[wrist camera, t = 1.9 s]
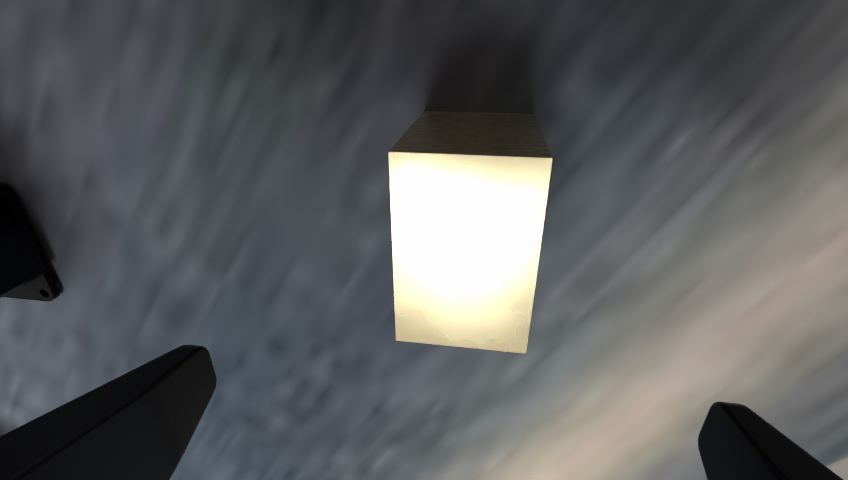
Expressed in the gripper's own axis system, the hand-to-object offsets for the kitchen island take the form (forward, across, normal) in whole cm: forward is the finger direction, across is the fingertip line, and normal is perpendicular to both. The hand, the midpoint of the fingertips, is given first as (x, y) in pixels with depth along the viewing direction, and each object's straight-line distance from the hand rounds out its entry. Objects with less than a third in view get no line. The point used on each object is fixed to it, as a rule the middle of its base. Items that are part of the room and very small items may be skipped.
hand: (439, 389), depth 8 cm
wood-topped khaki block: (+11, 0, 0) cm, 11 cm away
